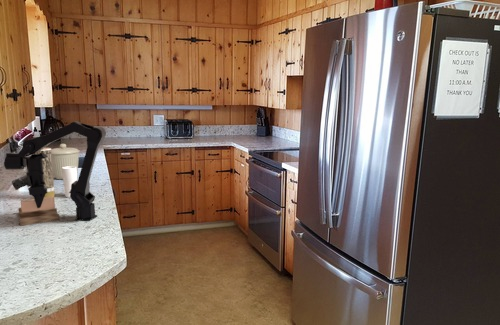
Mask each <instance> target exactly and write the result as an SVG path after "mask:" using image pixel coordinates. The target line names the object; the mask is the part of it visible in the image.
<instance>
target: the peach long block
mask: <svg viewBox="0 0 500 325" xmlns="http://www.w3.org/2000/svg"><path fill="white" fill-rule="evenodd" d="M55 200H56V199H55V197H44V199H43V202H42V204H41V207H40V208H37V205H36V202H35V199H34V198H28V199H20V207H21V210H22V212H28V211H36V210H43V209H51V208H56V203H55Z"/></svg>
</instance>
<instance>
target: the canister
mask: <svg viewBox="0 0 500 325" xmlns="http://www.w3.org/2000/svg"><path fill="white" fill-rule="evenodd" d="M80 152H81V151H80V149H78V148H76V147H67V144H65V143H60V145H59V147H55V148H51V155H52V168H53V179H54V180H55V179H56V180H63V177H62V167H67V166H75V167H76V168H77V174H78V170H79V155H80V154H79V153H80Z"/></svg>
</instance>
